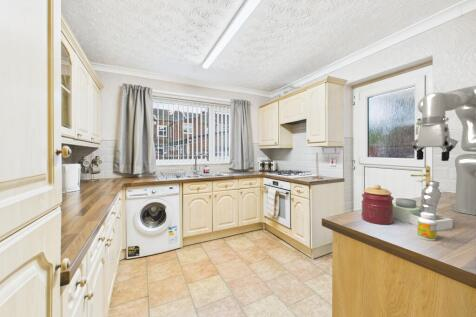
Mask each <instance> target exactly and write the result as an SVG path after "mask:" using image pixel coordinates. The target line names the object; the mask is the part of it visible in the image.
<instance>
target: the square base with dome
mask: <svg viewBox="0 0 476 317" xmlns="http://www.w3.org/2000/svg"><path fill="white" fill-rule="evenodd" d="M392 204H393V205H394V206H393V219H396V220H398V221H400V222H401V221H402V222H404V223H407V224H412V225H414V226H417V227H418V219H419V218H421V217H419V216H417V214H418V212H419V209H420V206H421V205H420V206H419V205H417V201H416V200H414V199H411V198H406V197H405V198H403V197H398V198H395V202H392ZM453 221H454V219H452V218H448V217H445V216H442V215H437V214H436V222H437V228H436V232H437V231H443V230H449V229H450V230H451V229H453V224H454V222H453Z"/></svg>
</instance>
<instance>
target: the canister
mask: <svg viewBox="0 0 476 317" xmlns="http://www.w3.org/2000/svg"><path fill="white" fill-rule="evenodd" d="M363 192H364V193H362V194H361V197H362V201H361V213H360V216H361V218H362V220H363V221H366V222H368V223H371V224H375V225H376V224H377V225H387V226H388V225H391V224H393V221H394V218H393V206H394V205H393V204H392V203H393V200H394V197H393V196H392V194H393V192H391V191H389V190H388V189H386V188H381V185H380V184H375V185H374V187H367V188H366V189H364V190H363Z"/></svg>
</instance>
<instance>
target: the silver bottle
mask: <svg viewBox="0 0 476 317" xmlns="http://www.w3.org/2000/svg"><path fill="white" fill-rule="evenodd" d="M439 187H440V182H439V181H436V180H428V181H427V186H425V187H424V188H423V189H422V190H421V201H420V209H419V212H418V214H417V216H419V217H421V212H427V213H432V214H434V215H435V218H434V220H435V221H436V215H437V207H438V204H439V201H440V199H441V197H442V192H441V191H440V189H439Z"/></svg>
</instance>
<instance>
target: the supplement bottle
mask: <svg viewBox="0 0 476 317" xmlns="http://www.w3.org/2000/svg"><path fill="white" fill-rule="evenodd" d="M434 218H435V215H434V214H432V213H427V212H421V218H419V219H418V226H417V237H418V238H419V239H422V240H425V241H430V242H431V241H433V242H434V241H436V239H437V231H436V228H437V222H436V221H435V220H434Z"/></svg>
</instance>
